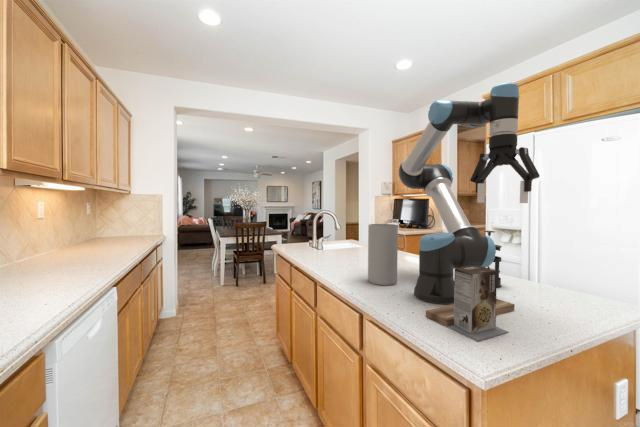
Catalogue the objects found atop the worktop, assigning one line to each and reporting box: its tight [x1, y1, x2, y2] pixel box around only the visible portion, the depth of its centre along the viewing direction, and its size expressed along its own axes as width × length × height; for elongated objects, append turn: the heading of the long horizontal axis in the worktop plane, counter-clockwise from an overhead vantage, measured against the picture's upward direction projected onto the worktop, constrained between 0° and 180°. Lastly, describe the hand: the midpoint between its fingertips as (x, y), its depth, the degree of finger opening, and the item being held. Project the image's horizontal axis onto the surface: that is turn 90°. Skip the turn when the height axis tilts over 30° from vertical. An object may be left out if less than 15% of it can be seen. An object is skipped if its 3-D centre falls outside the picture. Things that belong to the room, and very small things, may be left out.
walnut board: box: [425, 298, 515, 328], centre depth 90 cm, size 8×30×2 cm, turn 115°
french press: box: [483, 230, 503, 289], centre depth 122 cm, size 12×9×23 cm
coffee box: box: [453, 266, 497, 334], centre depth 79 cm, size 9×6×16 cm
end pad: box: [447, 325, 509, 342], centre depth 78 cm, size 9×12×1 cm
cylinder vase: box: [367, 223, 399, 286], centre depth 126 cm, size 12×12×25 cm
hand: (500, 203), depth 91 cm, fingers open, 13 cm apart
